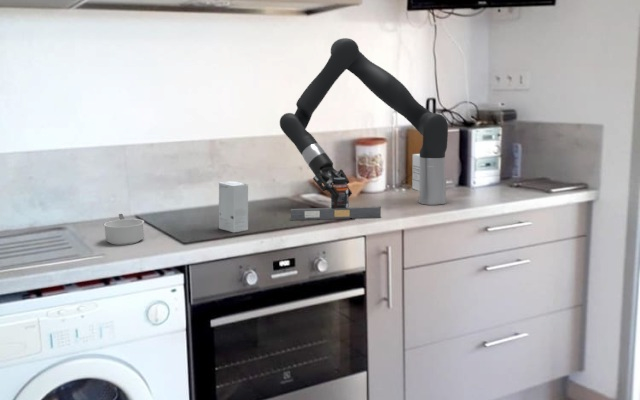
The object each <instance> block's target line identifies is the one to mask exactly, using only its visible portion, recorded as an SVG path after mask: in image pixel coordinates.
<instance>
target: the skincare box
mask: <svg viewBox="0 0 640 400" xmlns="http://www.w3.org/2000/svg"><path fill="white" fill-rule="evenodd" d="M218 228H219V229H220V230H224V231H227V232H231V233H240V232H245V231H248V230H249V184H247V183H244V182H240V181H235V180H229V181H220V182H218Z"/></svg>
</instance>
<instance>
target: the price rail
mask: <svg viewBox="0 0 640 400" xmlns="http://www.w3.org/2000/svg"><path fill="white" fill-rule="evenodd" d="M381 209H382V208H381V206H358V207H357V206H355V207H354V206H353V207H349V208H331V207H318V208H290V221H309V220H310V221H313V220H315V221H317V219H320V220H347V219H349V220H350V218H352V220H353V219H354V220H355V219H381V218H382V217H381V215H382V214H381V213H382V212H381Z"/></svg>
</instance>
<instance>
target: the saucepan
mask: <svg viewBox="0 0 640 400" xmlns="http://www.w3.org/2000/svg"><path fill="white" fill-rule="evenodd" d="M118 218H119V219H114V220H110V221H106V222H104V223H103V226H104V233H105V242H107V243H110V244H111V245H118V246H122V245H131V244H132V245H133V244H136V243H139V242H140V241H141V240H143V239H144V238H145V233H144V223H145V220H144V219H139V218H125V217H124V214H123V213H118Z"/></svg>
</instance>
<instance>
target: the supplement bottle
mask: <svg viewBox="0 0 640 400" xmlns="http://www.w3.org/2000/svg"><path fill="white" fill-rule="evenodd" d="M345 182H346V181H345V178H341V177H339V178H334V183H332V184H333V188H335V189H336V191H337V192H338V194H339V195H340V197H339V198H338V199H337V200H335V199H334V198H333V197H332V195H331V194H330V199H331V200H330V208H349V197H348V188H349V185H348V184H346V183H345Z"/></svg>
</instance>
